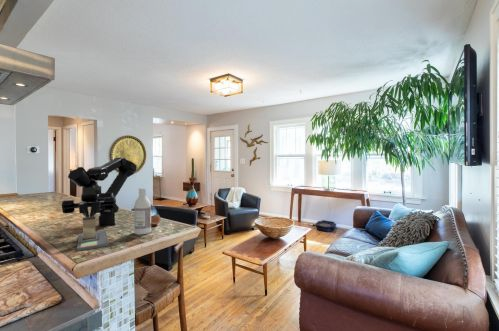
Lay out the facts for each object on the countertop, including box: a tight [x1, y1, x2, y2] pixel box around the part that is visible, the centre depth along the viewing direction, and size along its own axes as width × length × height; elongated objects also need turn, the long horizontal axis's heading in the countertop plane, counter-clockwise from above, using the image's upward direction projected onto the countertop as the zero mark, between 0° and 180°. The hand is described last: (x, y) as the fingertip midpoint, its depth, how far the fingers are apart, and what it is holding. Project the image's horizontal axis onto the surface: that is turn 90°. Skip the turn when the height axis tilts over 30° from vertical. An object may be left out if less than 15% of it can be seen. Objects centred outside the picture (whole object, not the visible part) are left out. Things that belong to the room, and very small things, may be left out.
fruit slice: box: [151, 214, 161, 227], centre depth 121 cm, size 8×7×5 cm
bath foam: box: [133, 187, 152, 236], centre depth 109 cm, size 7×7×20 cm
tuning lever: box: [82, 215, 96, 240], centre depth 96 cm, size 2×4×9 cm, turn 122°
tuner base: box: [76, 230, 109, 252], centre depth 98 cm, size 20×10×4 cm, turn 32°
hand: (89, 221), depth 100 cm, fingers closed
